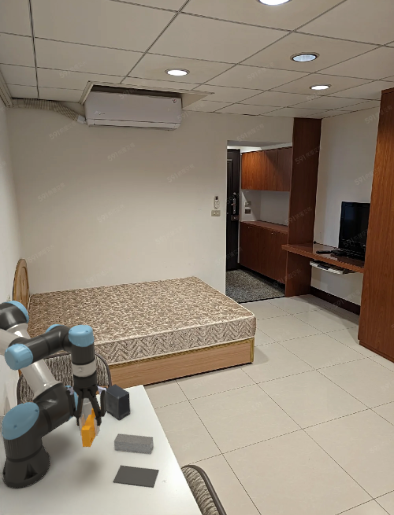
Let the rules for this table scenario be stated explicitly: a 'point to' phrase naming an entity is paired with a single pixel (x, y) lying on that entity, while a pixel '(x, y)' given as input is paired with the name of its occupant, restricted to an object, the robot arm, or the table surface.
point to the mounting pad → (136, 476)
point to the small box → (117, 402)
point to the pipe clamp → (88, 430)
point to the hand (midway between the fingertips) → (90, 432)
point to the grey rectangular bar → (133, 443)
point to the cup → (86, 408)
